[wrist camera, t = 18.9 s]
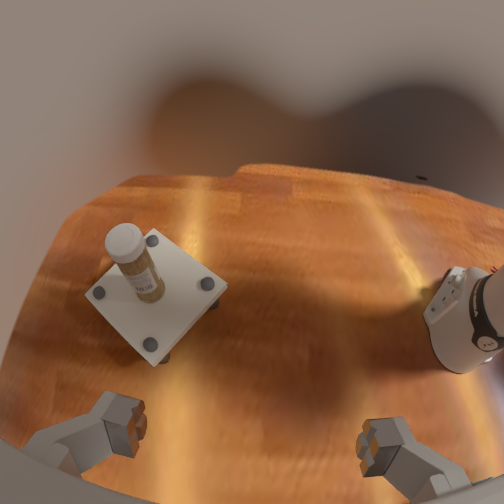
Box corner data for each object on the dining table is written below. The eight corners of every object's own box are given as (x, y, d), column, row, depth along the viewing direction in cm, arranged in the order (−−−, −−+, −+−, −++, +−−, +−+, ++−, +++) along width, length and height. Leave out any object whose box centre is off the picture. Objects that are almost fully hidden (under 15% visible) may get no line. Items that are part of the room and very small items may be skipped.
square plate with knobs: (161, 249, 55) (152, 225, 49) (228, 300, 51) (227, 281, 45) (99, 310, 48) (82, 293, 42) (163, 373, 43) (150, 364, 37)
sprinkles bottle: (167, 277, 45) (144, 221, 34) (163, 305, 43) (135, 256, 31) (139, 275, 45) (109, 221, 34) (133, 303, 43) (98, 254, 31)
